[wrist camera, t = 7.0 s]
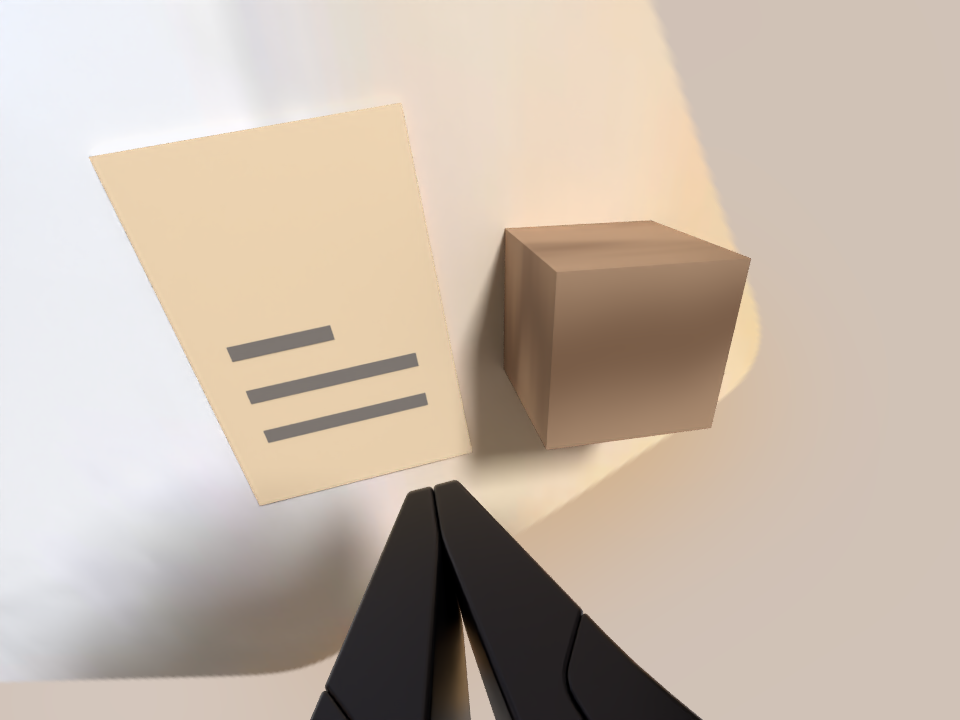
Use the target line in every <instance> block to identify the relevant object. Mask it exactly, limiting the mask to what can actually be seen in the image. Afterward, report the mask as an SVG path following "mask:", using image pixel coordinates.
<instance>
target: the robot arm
mask: <svg viewBox="0 0 960 720" xmlns="http://www.w3.org/2000/svg"><path fill="white" fill-rule="evenodd" d="M460 611H461V612H460ZM461 614H462V618H463V622H464V625H465V628H466V631H467V635H468V638H469V641H470V644H471V647H472V650H473V653H474V656H475V659H476V662H477V665H478V668H479V671H480V674H481V677H482V680H483V683H484V686H485V689H486V692H487V695H488V698H489V701H490V704H491V707H492V710H493V713H494V716H495V719H496V720H702V719H701V718H700V717H698V716H697V715H696V714H695V713H694V712H692V711H691V710H690V709H689V708H688V707H687V706H685V705H684V704H683V703H682V702H680V701H679V700H678V699H677V698H675V697H674V696H673V695H672V694H671V693H670V692H669V691H667V690H666V689H665V688H664V687H663V686H662V685H660V684H659V683H658V682H657V681H656V680H655V679H654V678H652V677H651V676H650V675H649V674H648V673H647V672H645V671H644V670H643V669H642V668H641V667H640V666H639V665H637V664H636V663H635V662H634V661H633V660H632V659H631V658H630V657H629V656H628V655H627V654H626V653H625V652H624V651H623V650H622V649H621V648H620V647H619V646H618V645H617V644H616V643H615V642H614V641H613V640H612V639H610V637H608V635H606V634H605V632H603V630H602V629H601V628H600V627H599V626H598V625H597V624H596V623H595V622H594V621H593V620H592V619H591V618H590V617H589V616H588V615H587V614H583V611H582V609H581V608H580V607H579V606H578V605H577V604H576V603H575V602H574V601H573V600H572V599H571V598H570V596H569V595H568V594H566V592H565V591H564V590H563V589H562V588H561V587H560V586H559V585H558V584H557V583H556V582H555V581H554V580H553V579H552V578H551V577H550V576H549V575H548V574H547V573H546V572H545V571H544V570H543V568H542V567H541V566H540V565H539V564H538V563H537V562H536V561H535V560H534V559H533V558H532V557H531V556H530V555H529V554H528V553H527V552H526V551H525V550H524V549H523V548H522V547H521V546H520V545H519V544H518V543H517V541H515V539H514V538H513V537H512V536H511V535H510V534H509V533H508V532H507V531H506V530H505V529H504V528H503V527H502V526H501V525H500V524H499V523H498V522H497V521H496V520H495V519H494V518H493V517H492V515H491V514H490V513H489V512H488V511H487V510H486V509H485V508H484V507H483V506H482V505H481V504H480V503H479V502H478V501H477V500H476V499H475V498H474V497H473V496H472V495H471V494H470V493H469V492H468V491H467V490H466V488H465V487H464V486H463V485H462V484H461V483H460V482H458V481H456V480H453V481H449V482H445V483H441V484H437V485H435V487H434V490H433V489H432V488H431V487H426V488H422V489H418V490H414V491H411V492H409V493H408V494H407V496H406V498H405V500H404V503H403V505H402V507H401V510H400V512H399V514H398V517H397V519H396V521H395V524H394V526H393V528H392V531H391V533H390V535H389V538H388V540H387V542H386V545H385V547H384V549H383V552H382V554H381V556H380V559H379V561H378V563H377V566H376V568H375V570H374V573H373V575H372V577H371V580H370V582H369V584H368V587H367V589H366V591H365V594H364V596H363V598H362V601H361V603H360V605H359V608H358V610H357V612H356V615H355V617H354V619H353V622H352V624H351V627H350V629H349V631H348V634H347V636H346V638H345V641H344V643H343V645H342V648H341V650H340V652H339V655H338V657H337V659H336V662H335V664H334V666H333V669H332V671H331V673H330V676H329V678H328V680H327V683H326V685H325V688H326V691H324V692H322V694H321V696H320V698H319V701H318V703H317V705H316V708H315V710H314V712H313V715H312V717H311V719H310V720H471V718H470V705H469V694H468V681H467V670H466V658H465V646H464V634H463V625H462V618H461Z"/></svg>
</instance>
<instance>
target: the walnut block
mask: <svg viewBox="0 0 960 720" xmlns="http://www.w3.org/2000/svg"><path fill="white" fill-rule="evenodd" d="M750 261H751V258H749V257H746V256H743V255H741V254H738V253H735V252H733V251H730V250H728V249H725V248H722V247H720V246H717V245H714V244H712V243H709V242H706V241H704V240H701V239H699V238H696V237H693V236H691V235H688V234H685V233H683V232H680V231H677V230H675V229H672V228H670V227H667V226H664V225H662V224H659V223H656V222H654V221H633V222H615V223H596V224H578V225H559V226H541V227H522V228H505V293H504V370H505V372H506V374H507V376H508V378H509V380H510V382H511V384H512V386H513V387H514V389H515V391H516V393H517V395H518V397H519V399H520V401H521V403H522V405H523V407H524V408H525V410H526V412H527V414H528V416H529V418H530V420H531V422H532V424H533V426H534V427H535V429H536V431H537V433H538V435H539V437H540V439H541V441H542V443H543V445H544V447H545V448H546V450H550V449H558V448H565V447H573V446H580V445H588V444H595V443H602V442H610V441H617V440H625V439H632V438H640V437H647V436H655V435H662V434H670V433H677V432H684V431H692V430H699V429H706V428H711V426H712V422H713V417H714V413H715V409H716V405H717V400H718V396H719V392H720V388H721V384H722V379H723V375H724V371H725V367H726V362H727V358H728V354H729V350H730V345H731V341H732V337H733V333H734V328H735V324H736V320H737V316H738V312H739V307H740V303H741V299H742V295H743V290H744V286H745V282H746V278H747V273H748V269H749V265H750Z"/></svg>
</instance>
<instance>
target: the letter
mask: <svg viewBox="0 0 960 720" xmlns="http://www.w3.org/2000/svg"><path fill="white" fill-rule="evenodd" d="M89 158H90V161H91V163H92V165H93V167H94V169H95V171H96V173H97V175H98V177H99V179H100V181H101V183H102V185H103V187H104V189H105V191H106V193H107V195H108V197H109V199H110V201H111V203H112V205H113V207H114V209H115V211H116V214H117V216H118V218H119V220H120V222H121V224H122V226H123V228H124V230H125V232H126V234H127V236H128V238H129V240H130V242H131V244H132V246H133V248H134V250H135V252H136V254H137V256H138V258H139V260H140V262H141V264H142V267H143V269H144V271H145V273H146V275H147V277H148V279H149V281H150V283H151V285H152V287H153V289H154V291H155V293H156V295H157V297H158V299H159V301H160V303H161V305H162V307H163V309H164V311H165V313H166V315H167V317H168V320H169V322H170V324H171V326H172V328H173V330H174V332H175V334H176V336H177V338H178V340H179V342H180V344H181V346H182V348H183V350H184V352H185V354H186V356H187V358H188V360H189V362H190V364H191V366H192V368H193V370H194V373H195V375H196V377H197V379H198V381H199V383H200V385H201V387H202V389H203V391H204V393H205V395H206V397H207V399H208V401H209V403H210V405H211V407H212V409H213V411H214V413H215V415H216V417H217V419H218V421H219V423H220V426H221V428H222V430H223V432H224V434H225V436H226V438H227V440H228V442H229V444H230V446H231V448H232V450H233V452H234V454H235V456H236V458H237V460H238V462H239V464H240V466H241V468H242V470H243V472H244V474H245V476H246V479H247V481H248V483H249V485H250V487H251V489H252V491H253V493H254V495H255V497H256V499H257V501H258V503H259V505H260V506H261V505H265V504H269V503H273V502H277V501H281V500H285V499H289V498H293V497H297V496H301V495H305V494H309V493H313V492H317V491H321V490H325V489H329V488H333V487H337V486H341V485H345V484H349V483H353V482H356V481H360V480H364V479H368V478H372V477H376V476H380V475H384V474H388V473H392V472H396V471H400V470H404V469H408V468H412V467H416V466H420V465H424V464H428V463H432V462H436V461H440V460H444V459H448V458H452V457H456V456H460V455H464V454H468V453H472V448H471V443H470V438H469V434H468V429H467V424H466V419H465V414H464V409H463V404H462V399H461V394H460V389H459V384H458V379H457V375H456V370H455V365H454V360H453V355H452V350H451V345H450V340H449V335H448V330H447V325H446V320H445V316H444V311H443V306H442V301H441V296H440V291H439V286H438V281H437V276H436V271H435V266H434V261H433V257H432V252H431V247H430V242H429V237H428V232H427V227H426V222H425V217H424V212H423V207H422V202H421V198H420V193H419V188H418V183H417V178H416V173H415V168H414V163H413V158H412V153H411V148H410V143H409V138H408V134H407V129H406V124H405V119H404V114H403V109H402V104H401V103H397V104H391V105H386V106H380V107H374V108H368V109H362V110H357V111H351V112H345V113H339V114H334V115H328V116H322V117H316V118H311V119H305V120H299V121H293V122H288V123H282V124H276V125H270V126H265V127H259V128H253V129H247V130H242V131H236V132H230V133H224V134H219V135H213V136H207V137H201V138H195V139H190V140H184V141H178V142H172V143H167V144H161V145H155V146H149V147H144V148H138V149H132V150H126V151H121V152H115V153H109V154H103V155H98V156H92V157H89Z"/></svg>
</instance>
